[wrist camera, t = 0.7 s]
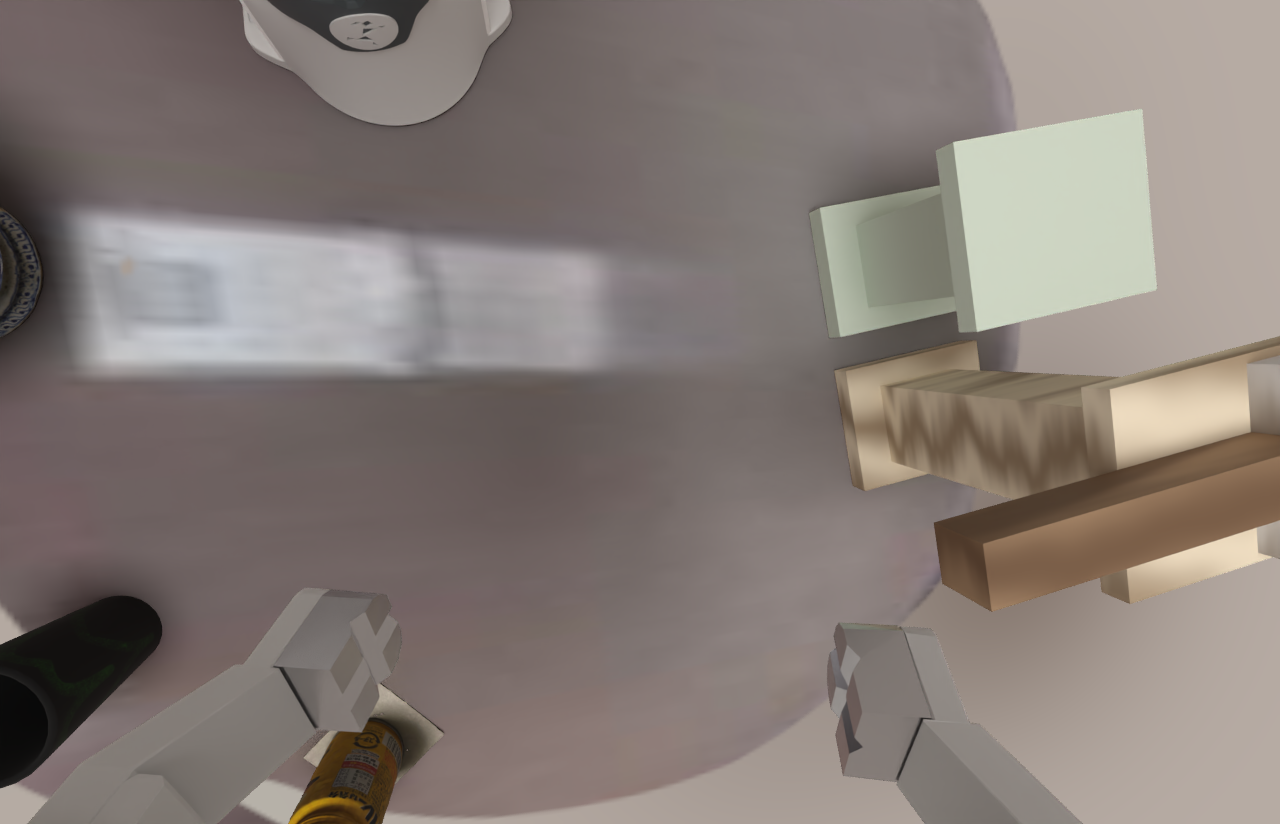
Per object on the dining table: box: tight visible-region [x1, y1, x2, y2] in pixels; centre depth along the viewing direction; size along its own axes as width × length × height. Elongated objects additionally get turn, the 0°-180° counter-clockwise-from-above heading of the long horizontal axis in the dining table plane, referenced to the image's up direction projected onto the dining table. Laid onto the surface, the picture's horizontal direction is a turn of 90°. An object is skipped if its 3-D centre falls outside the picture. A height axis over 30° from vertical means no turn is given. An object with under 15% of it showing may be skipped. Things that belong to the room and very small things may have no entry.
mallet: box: [934, 355, 1280, 612], centre depth 27 cm, size 10×23×3 cm, turn 102°
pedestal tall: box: [834, 336, 1280, 604], centre depth 42 cm, size 11×13×26 cm
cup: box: [0, 596, 162, 788], centre depth 39 cm, size 8×8×12 cm
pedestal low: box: [809, 109, 1157, 338], centre depth 44 cm, size 11×13×18 cm
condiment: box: [288, 683, 444, 824], centre depth 44 cm, size 7×8×12 cm
